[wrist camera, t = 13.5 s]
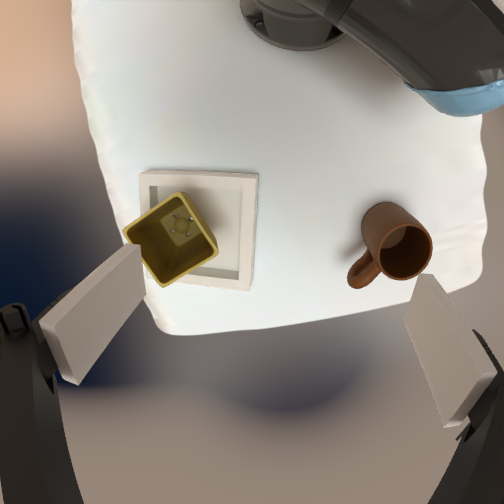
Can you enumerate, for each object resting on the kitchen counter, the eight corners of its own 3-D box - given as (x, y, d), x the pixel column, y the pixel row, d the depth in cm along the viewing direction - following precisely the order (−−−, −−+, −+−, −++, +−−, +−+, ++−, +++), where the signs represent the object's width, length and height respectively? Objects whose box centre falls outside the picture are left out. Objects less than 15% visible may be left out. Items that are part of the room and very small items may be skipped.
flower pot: (141, 215, 42) (119, 231, 33) (190, 181, 41) (178, 189, 32) (174, 263, 44) (161, 289, 36) (223, 233, 43) (220, 254, 35)
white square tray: (149, 169, 41) (138, 174, 38) (258, 174, 40) (255, 178, 37) (155, 267, 48) (146, 277, 45) (252, 279, 46) (249, 291, 43)
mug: (355, 277, 44) (367, 313, 36) (325, 241, 42) (333, 272, 34) (417, 230, 40) (443, 256, 31) (390, 190, 38) (415, 208, 30)
